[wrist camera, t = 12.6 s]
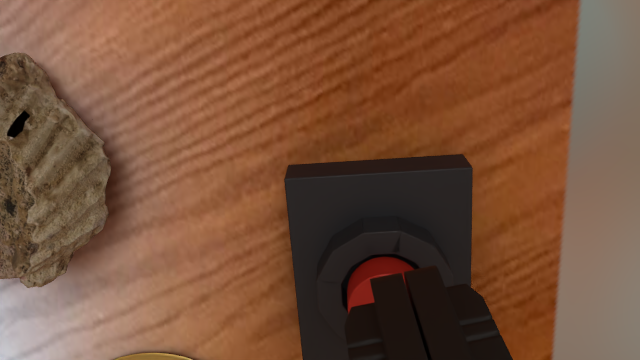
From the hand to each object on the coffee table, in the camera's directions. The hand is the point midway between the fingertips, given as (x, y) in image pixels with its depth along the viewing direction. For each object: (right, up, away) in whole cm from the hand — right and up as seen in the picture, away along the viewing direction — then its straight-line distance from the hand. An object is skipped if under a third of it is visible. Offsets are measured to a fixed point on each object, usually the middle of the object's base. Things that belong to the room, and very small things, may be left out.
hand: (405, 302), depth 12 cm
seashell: (-17, +4, +17) cm, 24 cm away
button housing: (+1, -1, +18) cm, 18 cm away
